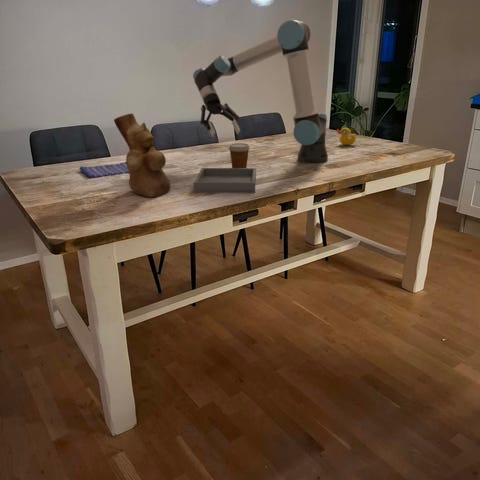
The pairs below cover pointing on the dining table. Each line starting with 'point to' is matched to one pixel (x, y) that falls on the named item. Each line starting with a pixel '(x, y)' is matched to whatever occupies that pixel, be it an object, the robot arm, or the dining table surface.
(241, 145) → the disposable coffee cup
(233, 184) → the grey tray
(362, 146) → the dining table surface
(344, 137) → the duckling
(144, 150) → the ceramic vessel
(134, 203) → the dining table surface
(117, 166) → the dish towel
